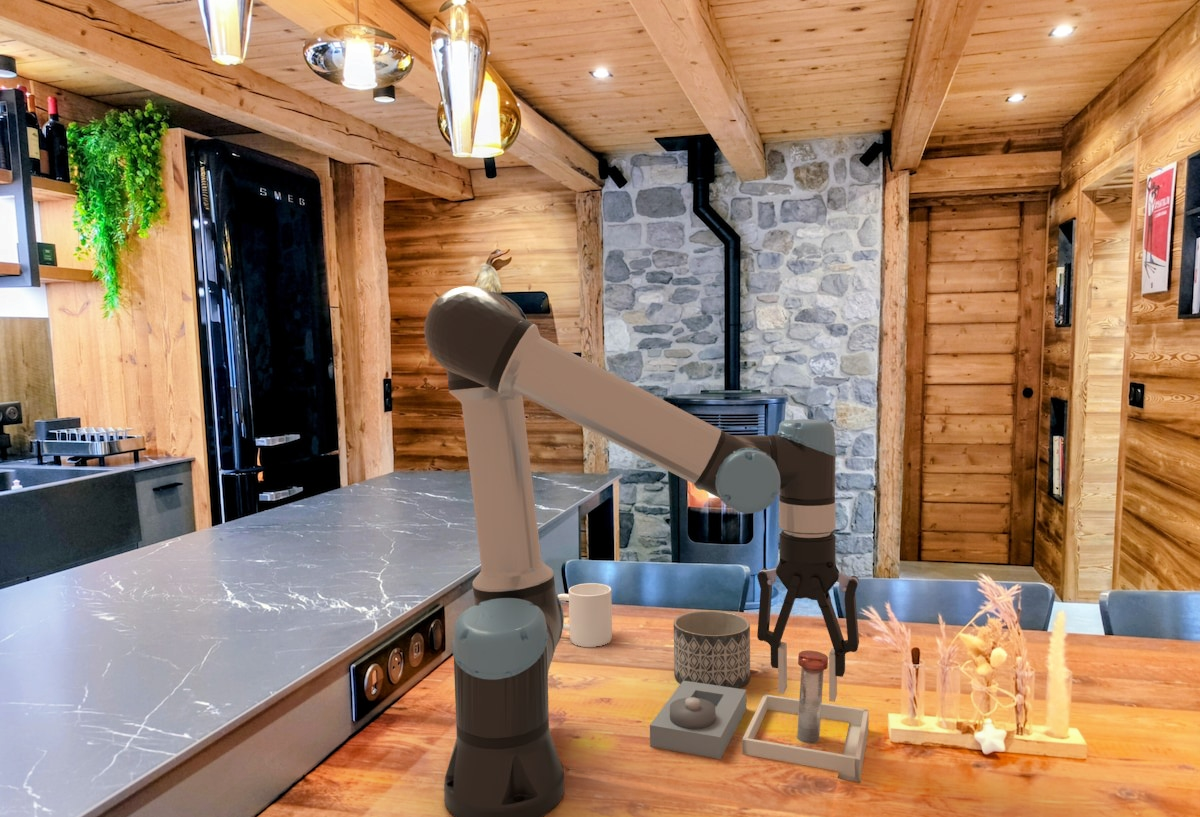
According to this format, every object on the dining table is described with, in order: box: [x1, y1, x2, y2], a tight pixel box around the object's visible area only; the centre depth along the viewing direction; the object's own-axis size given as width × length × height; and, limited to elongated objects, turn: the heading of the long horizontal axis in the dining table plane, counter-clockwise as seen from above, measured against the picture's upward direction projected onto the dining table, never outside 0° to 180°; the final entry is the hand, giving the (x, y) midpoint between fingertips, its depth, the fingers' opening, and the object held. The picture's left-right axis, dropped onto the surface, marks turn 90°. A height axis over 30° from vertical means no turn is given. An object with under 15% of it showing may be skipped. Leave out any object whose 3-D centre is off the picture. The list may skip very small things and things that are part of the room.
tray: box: [741, 693, 870, 783], centre depth 111 cm, size 15×15×3 cm
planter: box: [673, 609, 751, 689], centre depth 132 cm, size 13×13×10 cm
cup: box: [557, 582, 613, 648], centre depth 153 cm, size 8×12×10 cm
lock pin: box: [796, 650, 829, 744], centre depth 110 cm, size 4×4×12 cm
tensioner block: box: [649, 681, 747, 760], centre depth 114 cm, size 16×10×7 cm, turn 157°
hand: (807, 693), depth 110 cm, fingers open, 6 cm apart
